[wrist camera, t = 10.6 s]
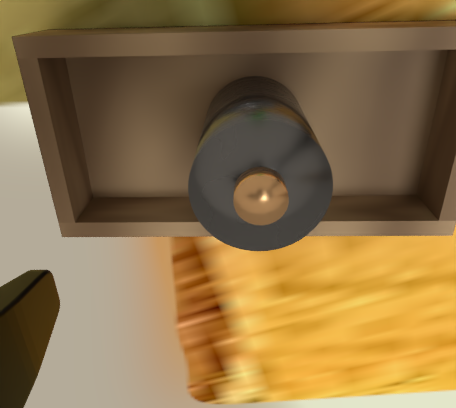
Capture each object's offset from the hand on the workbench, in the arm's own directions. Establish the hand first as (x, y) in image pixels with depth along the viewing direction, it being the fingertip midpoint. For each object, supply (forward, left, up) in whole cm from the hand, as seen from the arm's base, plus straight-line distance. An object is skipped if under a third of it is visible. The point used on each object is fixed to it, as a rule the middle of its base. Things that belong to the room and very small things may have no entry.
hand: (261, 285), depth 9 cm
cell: (0, 0, -11) cm, 11 cm away
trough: (0, 0, -12) cm, 12 cm away
